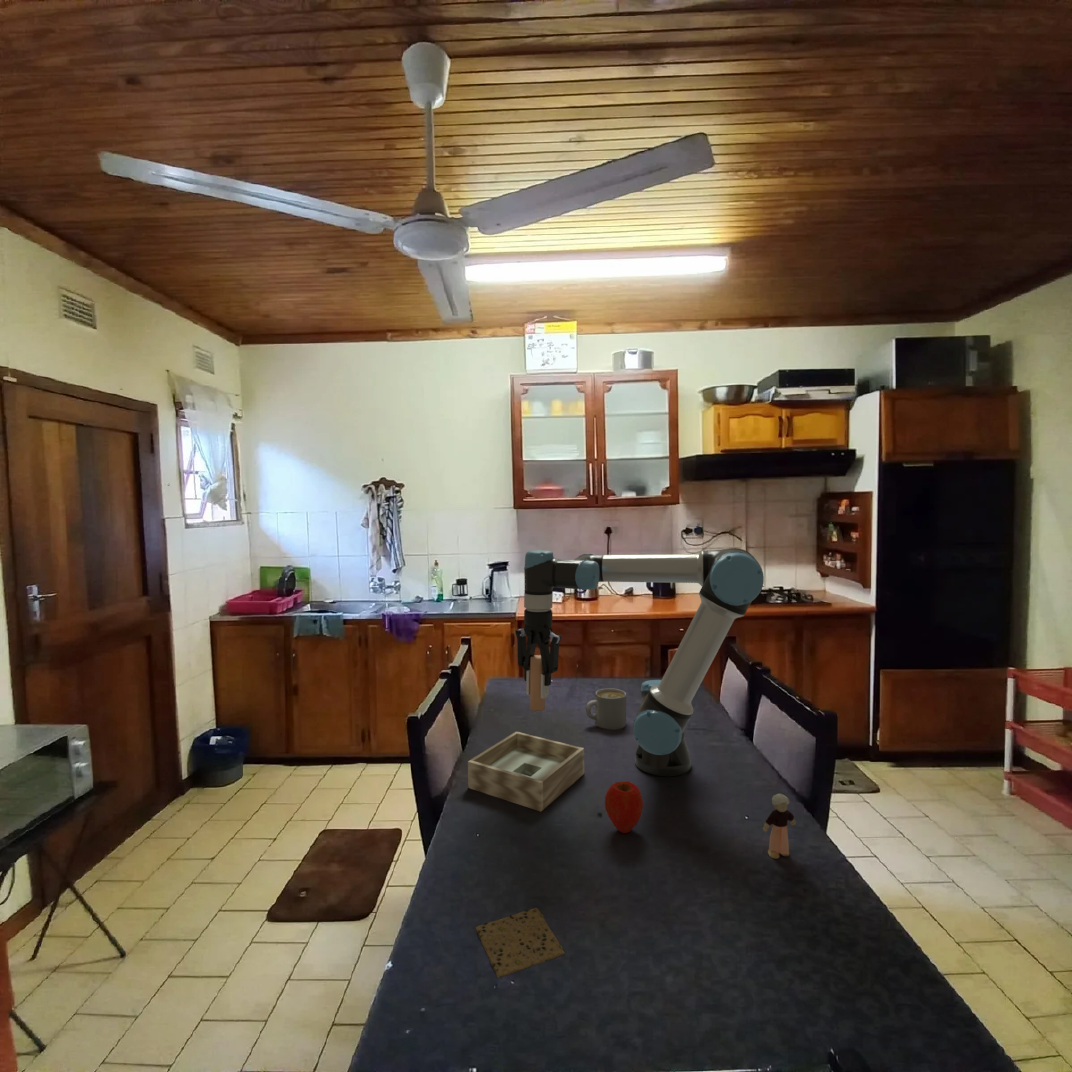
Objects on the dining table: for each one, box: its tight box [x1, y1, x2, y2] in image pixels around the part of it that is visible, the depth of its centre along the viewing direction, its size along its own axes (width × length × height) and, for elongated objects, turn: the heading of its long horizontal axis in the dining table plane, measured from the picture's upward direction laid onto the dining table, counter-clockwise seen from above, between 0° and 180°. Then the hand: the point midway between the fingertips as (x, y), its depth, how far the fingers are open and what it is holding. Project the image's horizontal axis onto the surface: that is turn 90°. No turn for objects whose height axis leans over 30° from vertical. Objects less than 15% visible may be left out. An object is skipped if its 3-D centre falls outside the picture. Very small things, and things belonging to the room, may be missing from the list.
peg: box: [529, 654, 546, 712], centre depth 157 cm, size 4×4×14 cm
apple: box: [604, 781, 644, 834], centre depth 130 cm, size 9×8×11 cm
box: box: [467, 731, 585, 812], centre depth 154 cm, size 22×22×7 cm
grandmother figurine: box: [762, 793, 797, 860], centre depth 121 cm, size 8×4×13 cm, turn 117°
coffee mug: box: [585, 687, 627, 730], centre depth 191 cm, size 13×10×10 cm
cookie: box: [475, 907, 566, 979], centre depth 99 cm, size 12×12×1 cm
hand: (537, 694), depth 157 cm, fingers closed on peg, 4 cm apart
